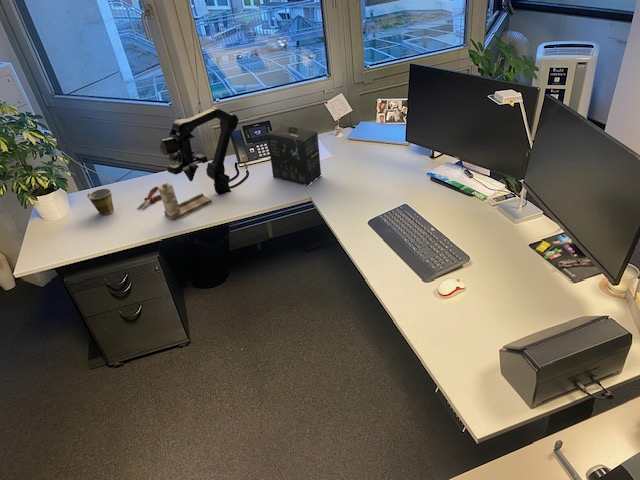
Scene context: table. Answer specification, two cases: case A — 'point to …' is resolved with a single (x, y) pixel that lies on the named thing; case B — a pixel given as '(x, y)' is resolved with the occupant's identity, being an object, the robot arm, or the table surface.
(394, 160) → the table surface
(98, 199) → the ceramic cup
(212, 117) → the robot arm
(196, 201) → the board
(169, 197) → the beige boxy piece
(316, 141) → the headset box
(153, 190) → the pliers
